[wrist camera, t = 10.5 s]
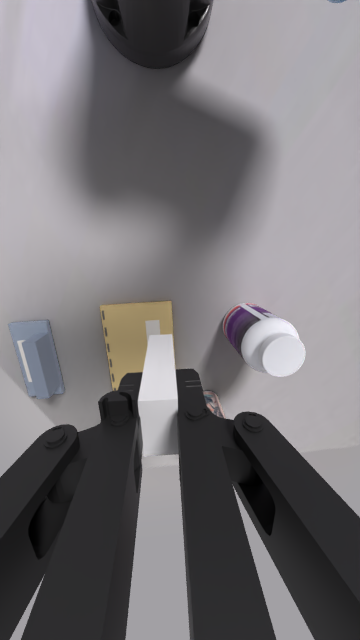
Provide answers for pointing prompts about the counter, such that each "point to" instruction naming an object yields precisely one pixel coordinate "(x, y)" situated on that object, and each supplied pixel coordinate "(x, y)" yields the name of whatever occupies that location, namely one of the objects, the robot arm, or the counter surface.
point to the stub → (37, 358)
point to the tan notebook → (132, 334)
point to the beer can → (214, 403)
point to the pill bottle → (264, 340)
